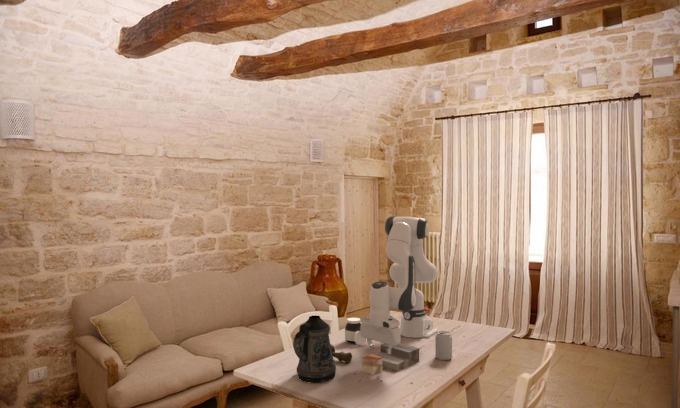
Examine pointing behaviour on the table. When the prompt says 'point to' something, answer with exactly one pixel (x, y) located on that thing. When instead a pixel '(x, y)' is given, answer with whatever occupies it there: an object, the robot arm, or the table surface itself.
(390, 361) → the stair block
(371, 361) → the maple cube
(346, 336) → the spread jar
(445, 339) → the can
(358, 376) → the table surface
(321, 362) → the beer stein
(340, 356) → the kendama
